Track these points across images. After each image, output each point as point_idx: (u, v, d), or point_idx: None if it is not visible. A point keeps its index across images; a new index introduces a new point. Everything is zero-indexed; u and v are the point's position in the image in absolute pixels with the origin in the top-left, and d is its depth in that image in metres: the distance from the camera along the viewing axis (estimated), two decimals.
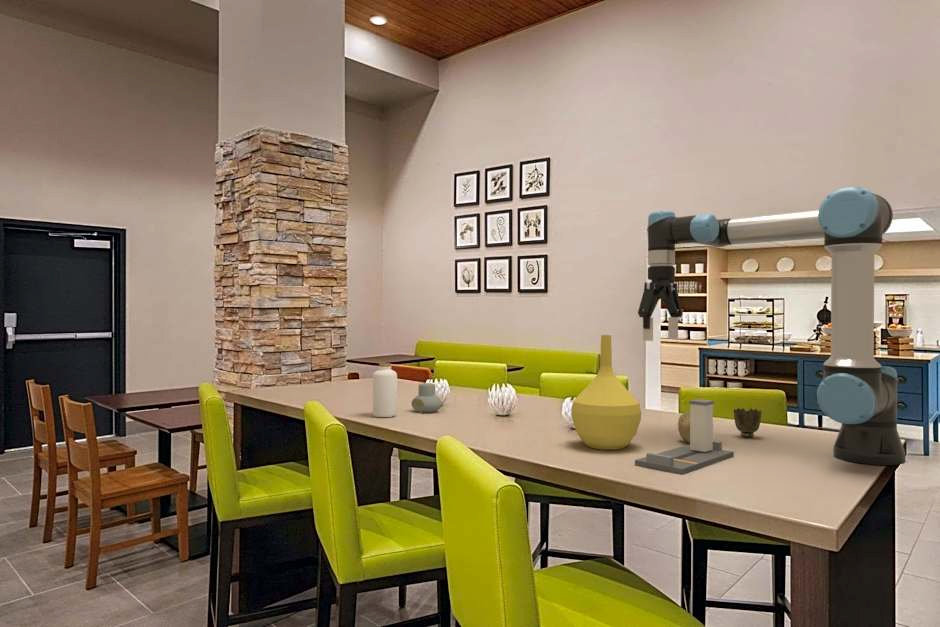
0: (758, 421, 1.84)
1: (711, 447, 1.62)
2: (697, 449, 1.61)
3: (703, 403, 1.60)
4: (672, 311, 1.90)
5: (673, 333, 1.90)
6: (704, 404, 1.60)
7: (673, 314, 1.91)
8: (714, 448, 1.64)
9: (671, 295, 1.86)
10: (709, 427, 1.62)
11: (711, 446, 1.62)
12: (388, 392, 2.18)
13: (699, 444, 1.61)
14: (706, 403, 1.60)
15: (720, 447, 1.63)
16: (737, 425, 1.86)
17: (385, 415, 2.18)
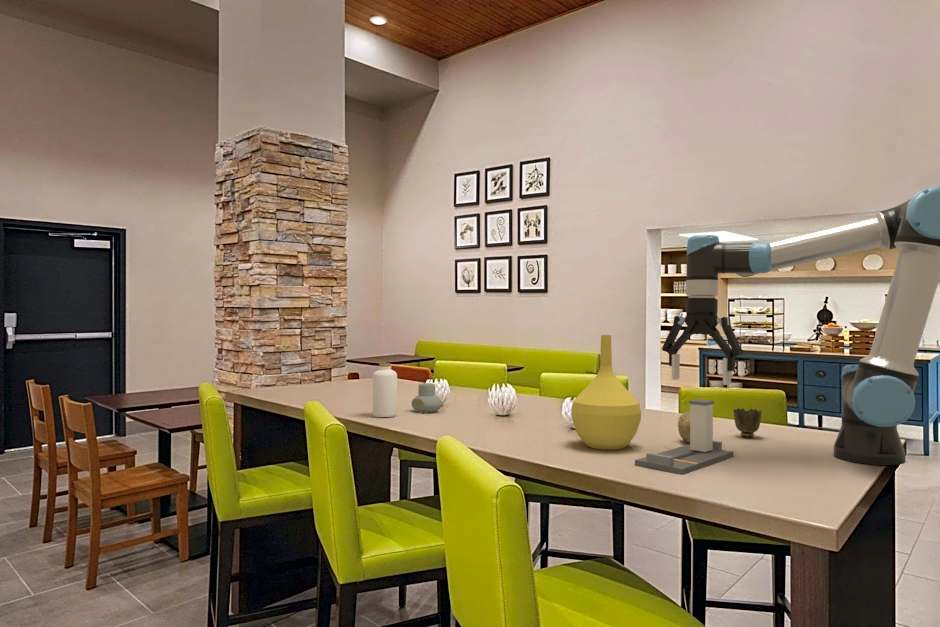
0: (758, 421, 1.84)
1: (711, 447, 1.62)
2: (697, 449, 1.61)
3: (703, 403, 1.60)
4: None
5: None
6: (704, 404, 1.60)
7: None
8: (714, 448, 1.64)
9: (708, 331, 1.59)
10: (709, 427, 1.62)
11: (711, 446, 1.62)
12: (388, 392, 2.18)
13: (699, 444, 1.61)
14: (706, 403, 1.60)
15: (720, 447, 1.63)
16: (737, 425, 1.86)
17: (385, 415, 2.18)
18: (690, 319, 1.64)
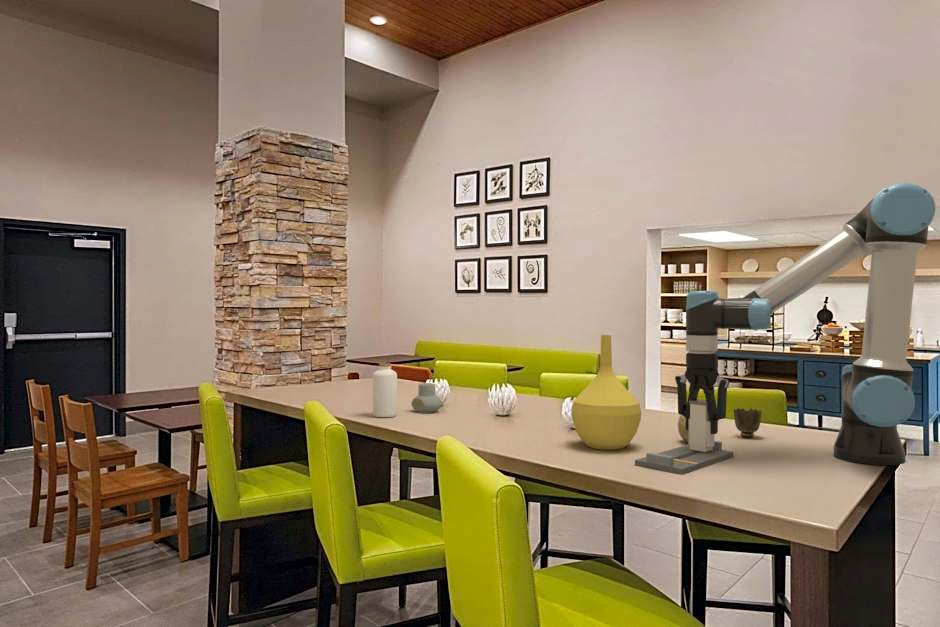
0: (758, 421, 1.84)
1: (711, 447, 1.62)
2: (697, 449, 1.61)
3: (703, 403, 1.60)
4: None
5: None
6: (704, 404, 1.60)
7: None
8: (714, 448, 1.64)
9: (704, 388, 1.60)
10: None
11: None
12: (388, 392, 2.18)
13: (699, 444, 1.61)
14: (706, 403, 1.60)
15: (720, 447, 1.63)
16: (737, 425, 1.86)
17: (385, 415, 2.18)
18: (690, 372, 1.64)
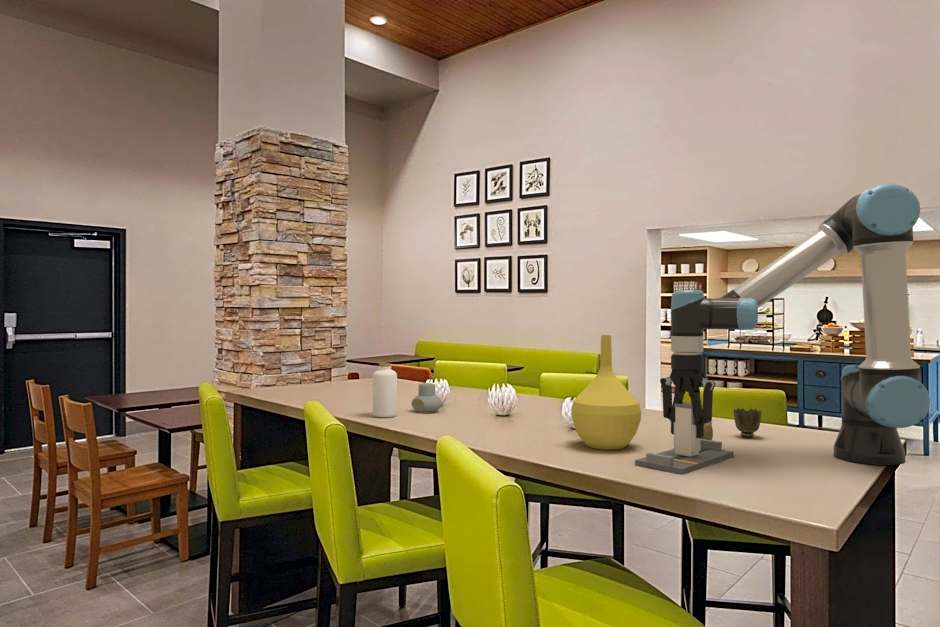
0: (758, 421, 1.84)
1: (697, 451, 1.57)
2: (682, 454, 1.56)
3: (688, 406, 1.55)
4: None
5: None
6: (689, 407, 1.55)
7: None
8: (714, 448, 1.64)
9: (690, 391, 1.55)
10: None
11: None
12: (388, 392, 2.18)
13: (684, 448, 1.56)
14: (692, 406, 1.55)
15: (720, 447, 1.63)
16: (737, 425, 1.86)
17: (385, 415, 2.18)
18: (675, 374, 1.59)
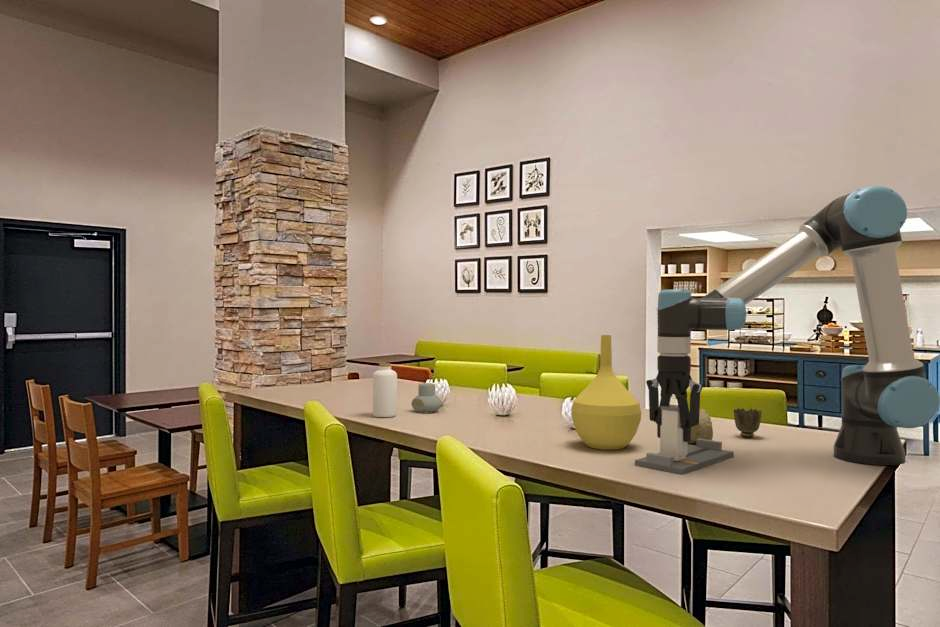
0: (758, 421, 1.84)
1: None
2: None
3: (675, 409, 1.50)
4: None
5: None
6: (676, 410, 1.50)
7: None
8: (714, 448, 1.64)
9: (676, 393, 1.51)
10: None
11: None
12: (388, 392, 2.18)
13: (671, 452, 1.51)
14: (678, 409, 1.50)
15: (720, 447, 1.63)
16: (737, 425, 1.86)
17: (385, 415, 2.18)
18: (661, 376, 1.54)
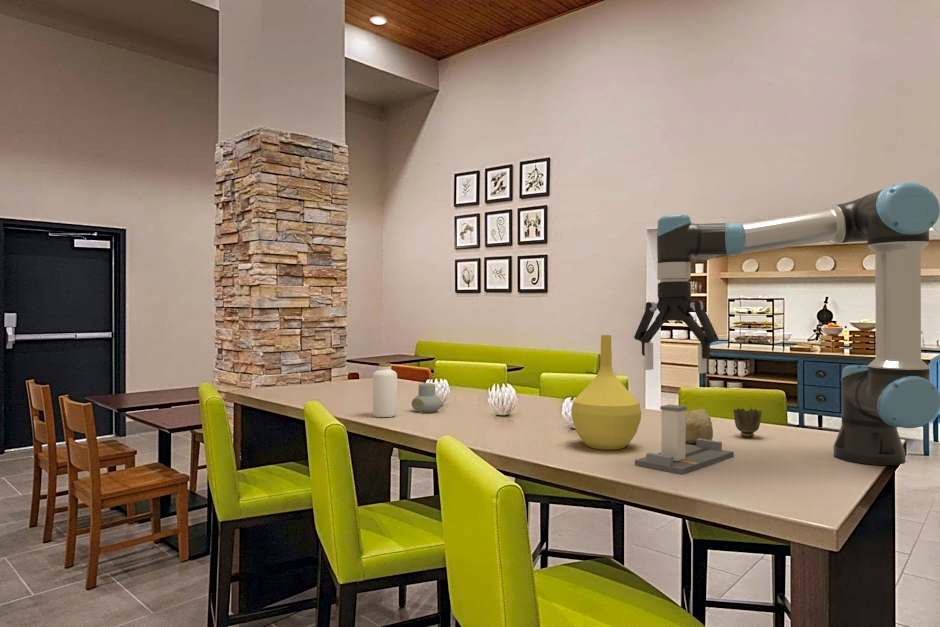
0: (758, 421, 1.84)
1: (683, 455, 1.52)
2: None
3: (675, 409, 1.50)
4: None
5: None
6: (676, 410, 1.50)
7: None
8: (714, 448, 1.64)
9: (681, 317, 1.50)
10: (682, 435, 1.52)
11: (684, 455, 1.53)
12: (388, 392, 2.18)
13: (671, 452, 1.51)
14: (678, 409, 1.50)
15: (720, 447, 1.63)
16: (737, 425, 1.86)
17: (385, 415, 2.18)
18: (662, 305, 1.54)
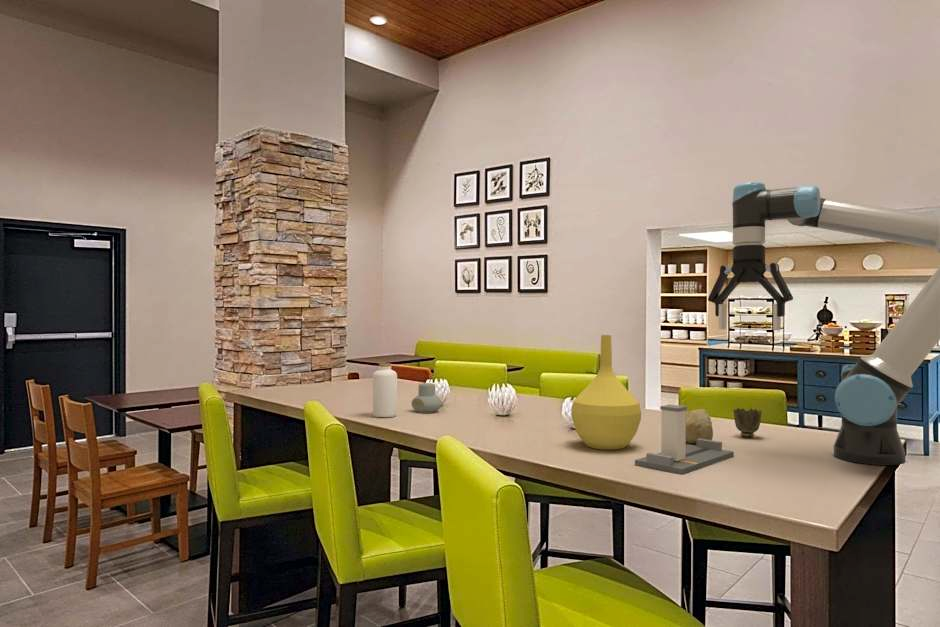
0: (758, 421, 1.84)
1: (683, 455, 1.52)
2: None
3: (675, 409, 1.50)
4: None
5: None
6: (676, 410, 1.50)
7: None
8: (714, 448, 1.64)
9: (757, 278, 1.60)
10: (682, 435, 1.52)
11: (684, 455, 1.53)
12: (388, 392, 2.18)
13: (671, 452, 1.51)
14: (678, 409, 1.50)
15: (720, 447, 1.63)
16: (737, 425, 1.86)
17: (385, 415, 2.18)
18: (737, 267, 1.64)
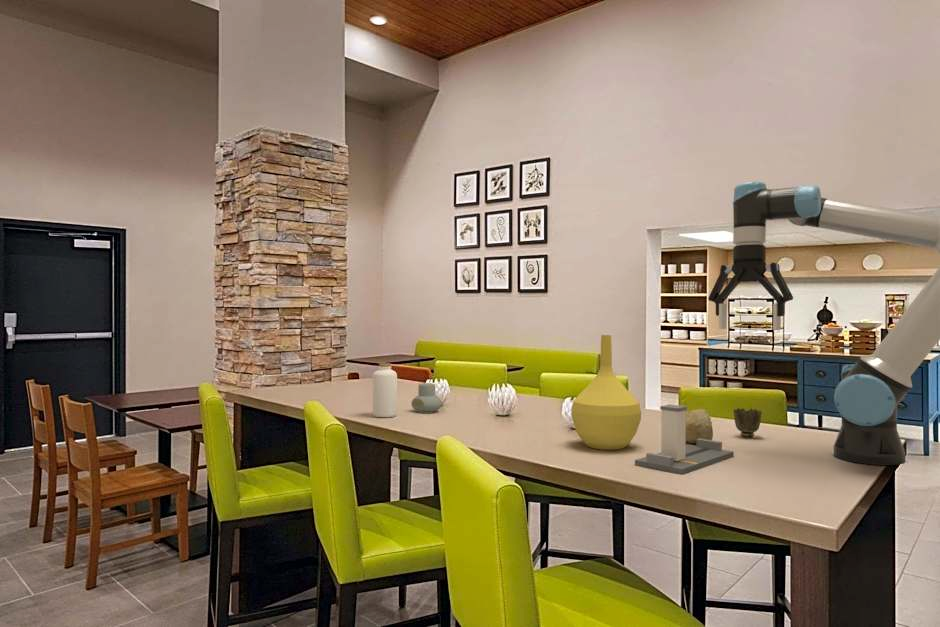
0: (758, 421, 1.84)
1: (683, 455, 1.52)
2: None
3: (675, 409, 1.50)
4: None
5: None
6: (676, 410, 1.50)
7: None
8: (714, 448, 1.64)
9: (757, 277, 1.60)
10: (682, 435, 1.52)
11: (684, 455, 1.53)
12: (388, 392, 2.18)
13: (671, 452, 1.51)
14: (678, 409, 1.50)
15: (720, 447, 1.63)
16: (737, 425, 1.86)
17: (385, 415, 2.18)
18: (738, 267, 1.64)
